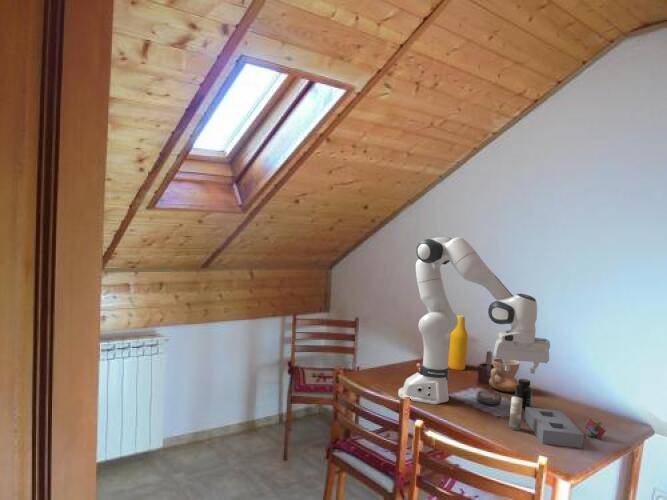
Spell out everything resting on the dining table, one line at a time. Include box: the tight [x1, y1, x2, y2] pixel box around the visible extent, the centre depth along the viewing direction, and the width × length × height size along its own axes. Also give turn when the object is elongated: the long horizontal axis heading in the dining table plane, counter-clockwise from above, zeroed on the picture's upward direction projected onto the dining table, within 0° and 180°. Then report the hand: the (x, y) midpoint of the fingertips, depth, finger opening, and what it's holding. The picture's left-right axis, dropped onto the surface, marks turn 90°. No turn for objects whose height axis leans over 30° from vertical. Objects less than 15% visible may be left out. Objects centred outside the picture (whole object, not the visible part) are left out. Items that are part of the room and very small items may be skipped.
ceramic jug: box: [488, 357, 521, 393], centre depth 245 cm, size 18×14×14 cm
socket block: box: [524, 406, 585, 449], centre depth 195 cm, size 14×24×5 cm, turn 174°
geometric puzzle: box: [585, 418, 606, 441], centre depth 193 cm, size 7×7×8 cm
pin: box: [508, 395, 523, 431], centre depth 196 cm, size 4×4×12 cm
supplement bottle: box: [514, 378, 533, 410], centre depth 222 cm, size 7×7×12 cm
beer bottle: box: [448, 314, 468, 371], centre depth 278 cm, size 9×9×29 cm
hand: (519, 371), depth 195 cm, fingers open, 8 cm apart
